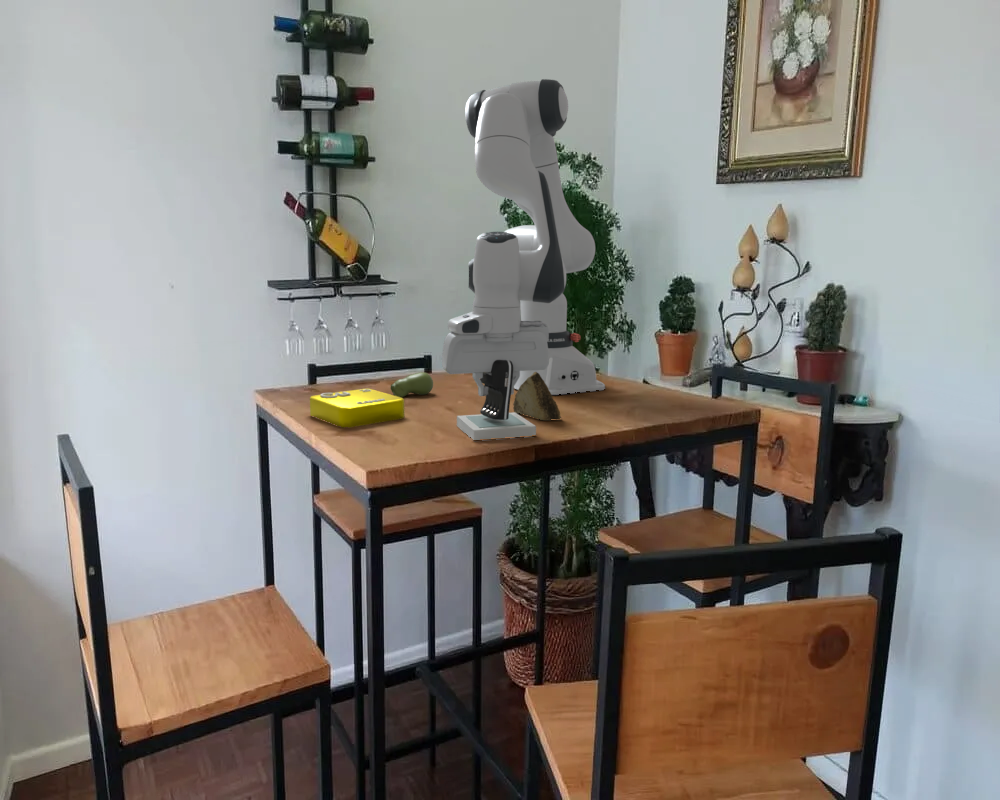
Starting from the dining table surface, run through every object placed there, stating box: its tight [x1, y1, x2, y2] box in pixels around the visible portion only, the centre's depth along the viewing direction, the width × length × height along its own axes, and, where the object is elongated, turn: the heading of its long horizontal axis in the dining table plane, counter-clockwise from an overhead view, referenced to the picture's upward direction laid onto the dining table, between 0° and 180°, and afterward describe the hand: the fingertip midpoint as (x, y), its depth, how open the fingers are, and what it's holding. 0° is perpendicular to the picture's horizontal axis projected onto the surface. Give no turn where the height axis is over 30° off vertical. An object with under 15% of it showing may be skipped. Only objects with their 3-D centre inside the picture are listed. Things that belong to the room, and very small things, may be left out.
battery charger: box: [480, 360, 513, 420], centre depth 147 cm, size 7×4×11 cm, turn 30°
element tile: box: [309, 388, 405, 428], centre depth 159 cm, size 15×15×5 cm
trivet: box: [456, 411, 537, 441], centre depth 148 cm, size 12×12×2 cm
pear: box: [390, 371, 434, 398], centre depth 181 cm, size 6×5×10 cm
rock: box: [512, 372, 562, 421], centre depth 161 cm, size 11×9×10 cm
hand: (495, 394), depth 147 cm, fingers closed on battery charger, 4 cm apart
